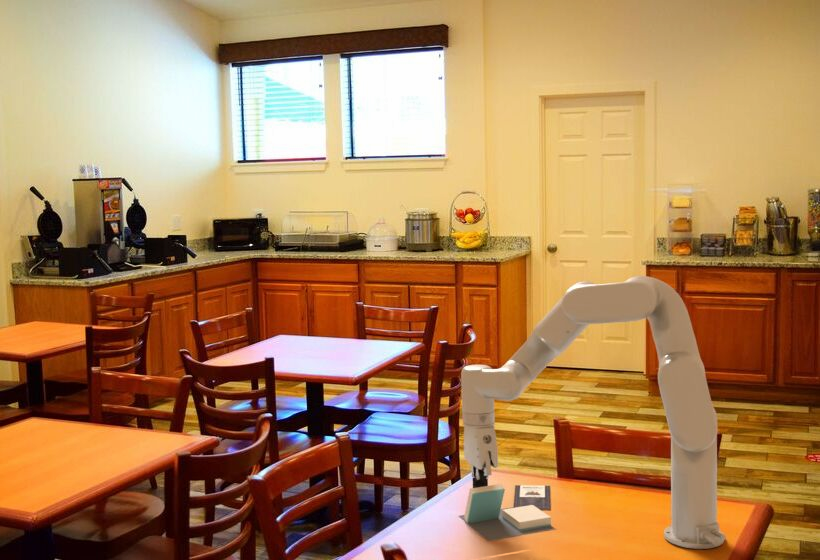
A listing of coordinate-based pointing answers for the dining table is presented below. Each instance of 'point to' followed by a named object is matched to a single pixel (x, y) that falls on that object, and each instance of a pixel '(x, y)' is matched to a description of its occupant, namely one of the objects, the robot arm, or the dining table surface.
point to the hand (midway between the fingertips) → (480, 494)
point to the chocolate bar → (532, 496)
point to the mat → (501, 528)
